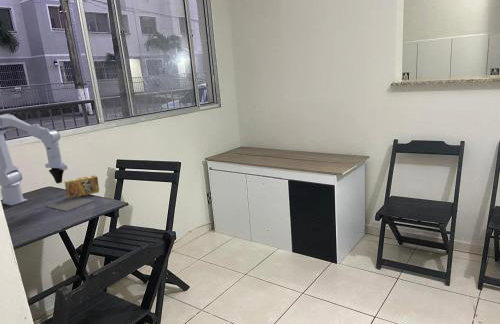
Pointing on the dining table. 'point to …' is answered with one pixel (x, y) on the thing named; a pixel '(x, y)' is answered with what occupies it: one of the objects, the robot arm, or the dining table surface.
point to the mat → (70, 203)
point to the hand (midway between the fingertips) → (59, 182)
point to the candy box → (81, 186)
